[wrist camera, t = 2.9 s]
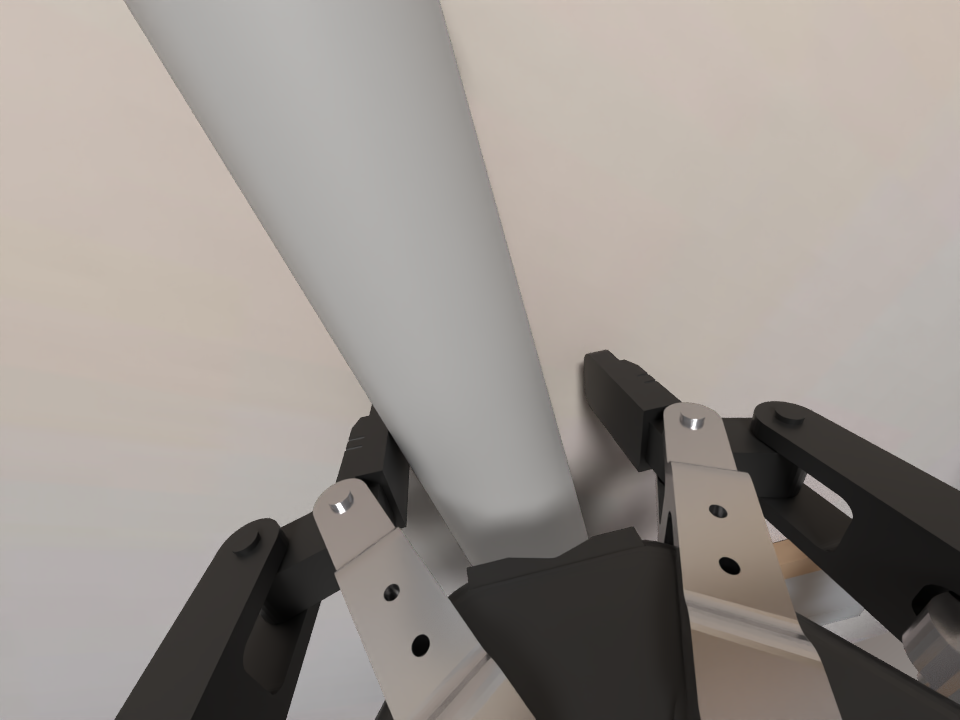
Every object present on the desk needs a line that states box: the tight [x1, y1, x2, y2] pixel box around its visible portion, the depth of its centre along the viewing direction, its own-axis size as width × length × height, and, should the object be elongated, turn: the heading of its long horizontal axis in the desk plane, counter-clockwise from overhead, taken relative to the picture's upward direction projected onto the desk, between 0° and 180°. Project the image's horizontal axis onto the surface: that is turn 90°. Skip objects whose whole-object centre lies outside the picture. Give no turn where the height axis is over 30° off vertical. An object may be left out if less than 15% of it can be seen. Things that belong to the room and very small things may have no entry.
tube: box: [124, 0, 589, 566], centre depth 11 cm, size 5×5×25 cm
